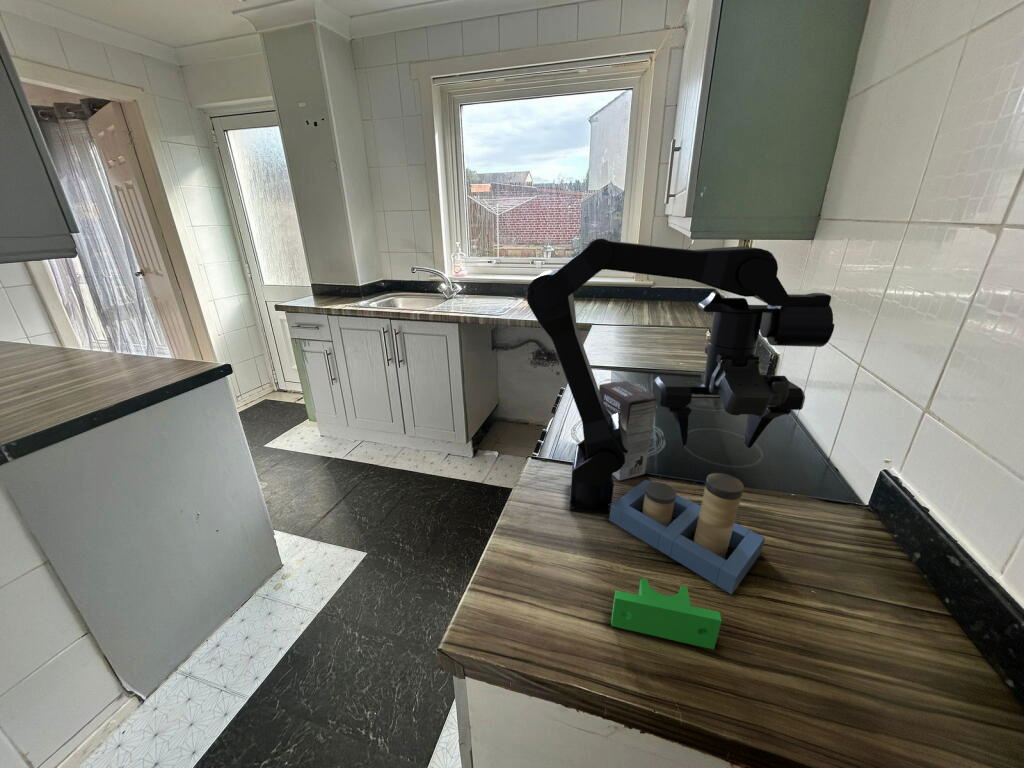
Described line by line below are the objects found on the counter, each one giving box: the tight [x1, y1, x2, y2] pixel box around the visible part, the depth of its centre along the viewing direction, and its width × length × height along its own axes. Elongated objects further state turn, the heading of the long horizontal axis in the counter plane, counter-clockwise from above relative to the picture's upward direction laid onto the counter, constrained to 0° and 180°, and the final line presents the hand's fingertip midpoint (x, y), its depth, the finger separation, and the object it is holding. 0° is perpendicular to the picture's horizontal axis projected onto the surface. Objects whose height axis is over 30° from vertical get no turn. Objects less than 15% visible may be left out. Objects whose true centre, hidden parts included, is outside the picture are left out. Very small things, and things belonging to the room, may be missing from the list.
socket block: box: [608, 479, 766, 595], centre depth 61 cm, size 19×10×3 cm, turn 42°
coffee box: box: [598, 380, 658, 482], centre depth 76 cm, size 9×6×16 cm
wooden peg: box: [692, 472, 745, 560], centre depth 56 cm, size 4×4×12 cm
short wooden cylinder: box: [641, 481, 677, 527], centre depth 63 cm, size 4×4×6 cm
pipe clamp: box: [610, 577, 723, 650], centre depth 47 cm, size 11×4×5 cm, turn 76°
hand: (715, 445), depth 60 cm, fingers open, 9 cm apart
